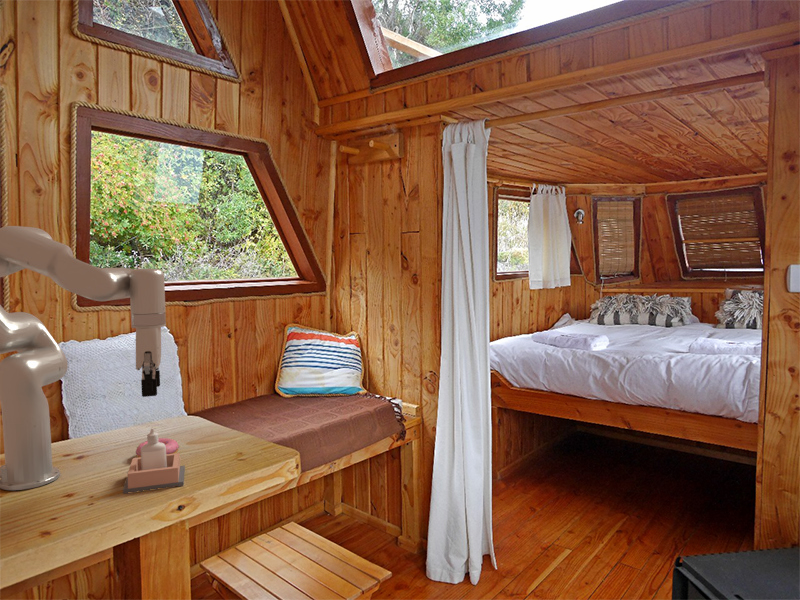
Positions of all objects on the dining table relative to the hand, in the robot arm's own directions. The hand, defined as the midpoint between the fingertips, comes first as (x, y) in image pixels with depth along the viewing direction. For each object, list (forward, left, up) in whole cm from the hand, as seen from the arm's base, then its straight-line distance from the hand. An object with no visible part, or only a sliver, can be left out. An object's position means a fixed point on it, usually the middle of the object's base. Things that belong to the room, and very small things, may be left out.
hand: (151, 391), depth 134 cm
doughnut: (-1, +18, -23) cm, 29 cm away
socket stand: (0, 0, -22) cm, 22 cm away
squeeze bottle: (0, 0, -21) cm, 21 cm away
